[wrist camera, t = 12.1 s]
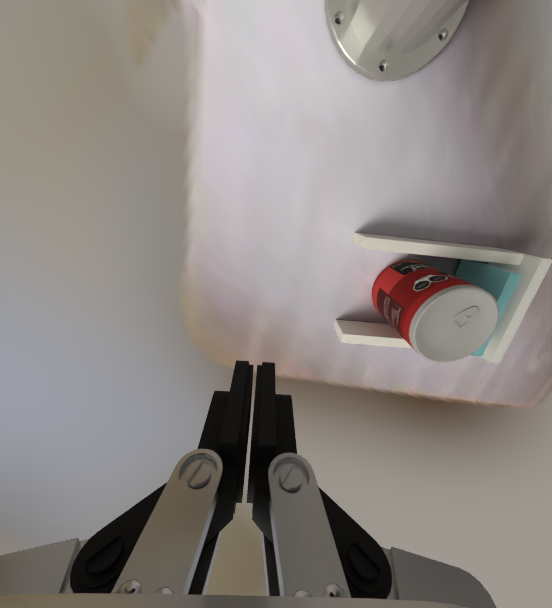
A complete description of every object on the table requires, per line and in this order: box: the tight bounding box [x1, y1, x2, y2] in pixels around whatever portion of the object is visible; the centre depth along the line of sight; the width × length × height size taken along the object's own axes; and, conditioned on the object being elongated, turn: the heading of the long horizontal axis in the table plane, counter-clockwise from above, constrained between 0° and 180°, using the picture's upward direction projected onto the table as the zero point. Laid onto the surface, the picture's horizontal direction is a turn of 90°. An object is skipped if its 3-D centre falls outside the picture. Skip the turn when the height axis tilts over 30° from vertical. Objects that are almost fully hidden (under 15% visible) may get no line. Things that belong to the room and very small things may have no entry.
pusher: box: [455, 259, 522, 356], centre depth 31 cm, size 10×1×7 cm, turn 174°
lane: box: [334, 232, 552, 364], centre depth 31 cm, size 13×19×6 cm
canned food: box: [372, 260, 499, 362], centre depth 29 cm, size 8×8×11 cm
